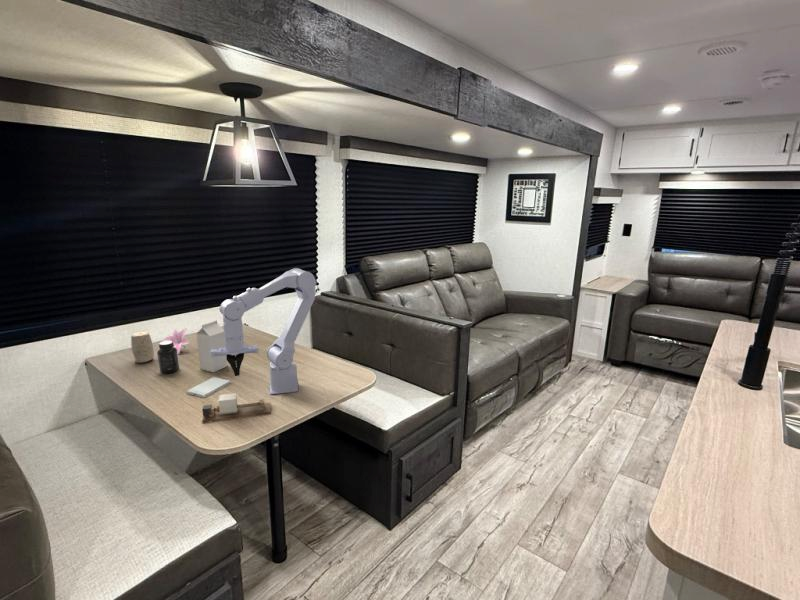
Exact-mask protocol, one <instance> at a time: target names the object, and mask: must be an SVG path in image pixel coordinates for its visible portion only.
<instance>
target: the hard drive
mask: <svg viewBox="0 0 800 600" xmlns="http://www.w3.org/2000/svg"><path fill="white" fill-rule="evenodd" d="M229 383H230V384H231V380H229V379H224V378H220V377H216V376H212V377H211V378H209V379H207V380H204V381H203V382H201V383H200V384H197V385H194V387H191V388H190V389H188V390H186V391H185V393H187V395H190V394H191V395H192V396H194V395H195V397H198V398H204V399H205V398H206V397H208V396H210V395H212V394H214V393H216V392H218V391H219V390H221V389H223V388H224V386H225V387H226V386H228V385H230V384H229ZM215 391H216V392H215Z"/></svg>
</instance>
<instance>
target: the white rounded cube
mask: <svg viewBox="0 0 800 600" xmlns="http://www.w3.org/2000/svg"><path fill="white" fill-rule="evenodd" d="M237 395H238V394H237V393H236V392H235V393H227V394H220V395H219V397H218V406H219V410H220V415H223V414H230V413H237V410H238V408H237V405H238V396H237Z"/></svg>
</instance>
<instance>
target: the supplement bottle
mask: <svg viewBox="0 0 800 600" xmlns="http://www.w3.org/2000/svg"><path fill="white" fill-rule="evenodd" d="M158 348H159V349H158V350H157V352H156V354H157V361H158V368H159V372H160V374H162V375H173V374H175V373H178V371H180V362H179V355H178V352H177V349H176V348H175V347H174V344H173V341H170V340H168V341H163V340H162V341H161V342H159V343H158Z"/></svg>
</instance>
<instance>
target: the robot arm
mask: <svg viewBox="0 0 800 600" xmlns="http://www.w3.org/2000/svg"><path fill="white" fill-rule="evenodd" d="M317 283H318V282H317V280H316V278H315V276H314V274H313V273H311V271H306V270H303V269H301V268H298V267H294V268H292V269H290V270H287V271H285V272H284V273H283V274H281V275H280V276H278V277H276V278H275V279H273V280H271V281H270V282H268V283H266V284H264V285H263V286H261V287H259V288H256V287H252V288H250V287H248V288H246V291H245V292H242V293H241V294H239V295H233V297H232V298H229V299H228V298H227V299H225V300H224V301H223V302H221V304H220V307H219V312H220V314H221V315H222V322H223V323H222V325H223V330H224V337H225V348H220V349H215V350H211V357H215V356H225V355H226V356H227V358H226V359H227V363H228V364H229V365H230V367H231V369H232V372H233V374H234V377H239V376H240V374H241V373H240V372H241V371H240V370H241V366H242V363H243V361H244V358H245V355H246V354H259V352H260V351H259V345H245V342H244V331H243V330H244V329H243V326H244V325H243V320H242V319H243V318H242V317H243V316H244V314H245V313H247V312H248V311H249V310H252V309H253V308H256V307H257V306H259V305H261V304H262V303H263V302H264V299H265V298H266V297H268V296H270V295H272V294H274V293H277V292H278V291H280V290H283V289H284V288H291V289H294V290H295V292H296V294H297V297H298V298H297V300H296V302H295V304H294V306H293V309H292V310H291V312H290V314H289V316H288V318H287V321H286V323H285V325H284V328H283V330H282V332H281V333H280V336H279V337H277V338H276V339H275V340H274V341H273V342H272V344H271V345H270V346H269V347H268V348H267V350H266V358H267V359H268V360H269V362H270V363H269V377H270V384H269V395H277V394H278V395H279V394H285V393H286V394H287V393H296V392H298V391H299V389H298V388H299V386H298V384H299V378H298V368H297V364H296V363H293V361H294V354H295V351H296V349H295V343H296V340H297V338H298V336H299V333H300V332H301V329H302V327H303V325H304V323H305V321H306V318H307V316H308V314H309V312H310V311H311V308H312V306H313V303H314V301H315V300H316V285H317Z"/></svg>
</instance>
